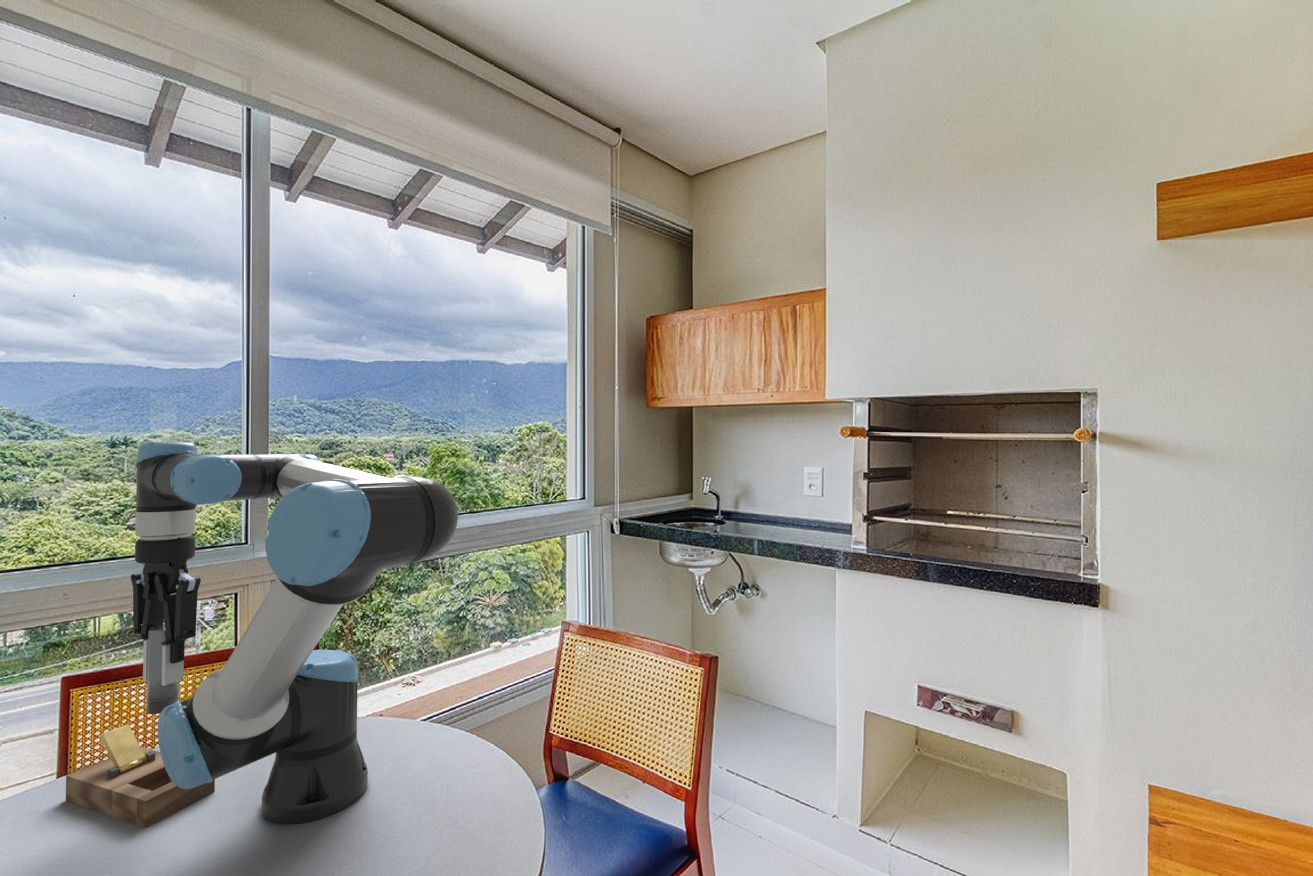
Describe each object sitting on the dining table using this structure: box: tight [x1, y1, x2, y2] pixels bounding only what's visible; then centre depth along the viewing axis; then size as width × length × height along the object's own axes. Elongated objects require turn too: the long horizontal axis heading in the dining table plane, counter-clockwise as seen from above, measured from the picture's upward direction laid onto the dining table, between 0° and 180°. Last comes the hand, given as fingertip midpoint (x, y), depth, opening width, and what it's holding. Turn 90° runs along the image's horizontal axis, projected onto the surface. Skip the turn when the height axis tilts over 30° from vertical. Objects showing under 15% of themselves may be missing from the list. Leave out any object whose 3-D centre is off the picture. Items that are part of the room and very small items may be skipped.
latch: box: [99, 723, 147, 774], centre depth 97 cm, size 7×4×1 cm
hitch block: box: [65, 746, 216, 828], centre depth 96 cm, size 20×10×5 cm, turn 70°
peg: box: [146, 624, 180, 715], centre depth 95 cm, size 4×4×13 cm
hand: (163, 680), depth 94 cm, fingers closed on peg, 4 cm apart
